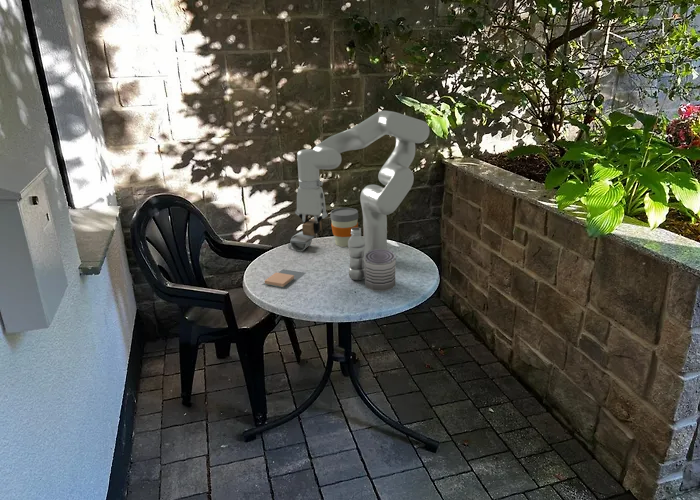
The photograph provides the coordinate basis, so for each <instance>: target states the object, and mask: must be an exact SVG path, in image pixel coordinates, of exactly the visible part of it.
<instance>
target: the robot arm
mask: <svg viewBox="0 0 700 500" xmlns="http://www.w3.org/2000/svg"><path fill="white" fill-rule="evenodd" d="M385 135H387V136H391V137H394V138H395V147H394V149H393V150H392V152H391V154H390V155H389V156H388V158H387V160H386V161H385V162H384V164H383V165H382V167H381V168H380V170H379V172H378V177H377V178H378V181H379V182H380V183H381V184H382V185H383V186H384V187H383V186H380V185H378V184H367V185H366V186H365V187H364V188H362V190H361V192H360V199H359V200H360V205H361V212H362V231H363V236H362V237H363V239H364V240H365V249H364V255H365V254H366V253H367V252H369V251H370V250H377V249H385V250H389V251H390V249H389V248H388V235H387V234H388V232H387V231H388V230H387V228H388V219H387V218H388V217H387V215H388V216H389V215H390V214H392V213H394V212H395V211H396V210H397V208H398V207H399V206H400V204H401V203H402V202H403V200H404V199H405V197H406V196H407V195H408V193H409V191H410V190H411V189H412V186H413V185H414V179H415V178H414V172H413V171H412V170H411V168H409V167H410V166H411V164H412V163H413V161H414V158H415V156H416V144H422V143H423V142H425V141H426V140H427V139H428V138H429V136H430V126H429V125H428V124H427V122H426V121H425V120H422V119H418V118H415V117H412V116H409V115H406V114H402V113H400V112H396V111H391V110H380V111H377V112H376V113H374V114H373V115H371V116H369V117H368V118H366V119H364V120H363V121H362V122H359V123H358V124H357V125H354V126H353V127H350V128H348V129H345V130H344V131H341V132H338V133H336V134H334V135H333V134H332V135H331V136H329V137H327V138H326V139H324V140H323V141H321V142H319V143H317V144H316V145H315V146H314V147H313V148H308V149H307V148H306V149H301V150H298V152H297V154H296V158H297V160H296V161H297V172H298V173H297V175H298V176H297V177H298V187H297V193H296V209H295V212H294V214H295V215H297V216H298V217H299V218H300V219H301V220H302V223H303V224H304V223H306V222H307V221H309V220H310V219H309V216H313V218H314V221H315V223H314V233H315V235H316V234H319V232H320V231H321V230H320V221H321V222H322V221H323V219H325V218H327V217H328V215H329V214H328V212H327V210H326V208H327V207H326V200H325V193H324V190H323V185H324V182H323V181H321V178H320V170H335V169H337V168H338V167H340V165H341V163H342V160H343V159H342V155H341V154H342V153H344V152H349V151H355V150H362V149H365V148H367V147H368V146H370V145H371V144H372V143H374V142H375V141H377V140H378V139H381V138H382V137H384V136H385ZM321 186H322V187H321ZM321 214H322V215H321ZM319 230H320V231H319ZM395 261H397V257H396V258H395ZM364 265H365V259H364Z"/></svg>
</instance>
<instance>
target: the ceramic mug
mask: <svg viewBox="0 0 700 500" xmlns="http://www.w3.org/2000/svg"><path fill="white" fill-rule="evenodd" d="M299 234H303V230H302V231H299V232H297V233H296V234H294V235H293V236H291V239H293V238H294V237H296V236H297V235H299ZM291 239H290V240H291ZM289 242H290V241H289ZM312 242H313V239H311V240H310V241H309V242H307V243H306V244H301V243H293V242H290V243H288V244H286V245H287V248H288V249H291V248H292V249H293V250H294V251H296V252H303V251H305V250H306V248H308V247H309V246H310V245H311V244H312Z"/></svg>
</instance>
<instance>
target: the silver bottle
mask: <svg viewBox="0 0 700 500" xmlns="http://www.w3.org/2000/svg"><path fill="white" fill-rule="evenodd" d="M351 235H352V236H351V237H350V238H349V240H348V247H347V248H348V253H349V266H348V267H349V268H348V276H349V278H350V279H351V280H353V281H362V280H365V264H364V249H365V240H364V239H363V236H362V229H361V227H358V228H352V229H351Z"/></svg>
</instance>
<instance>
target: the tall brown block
mask: <svg viewBox="0 0 700 500" xmlns="http://www.w3.org/2000/svg"><path fill="white" fill-rule="evenodd" d="M314 223H315V221H314V217H312V218H311V219H309V221H307V222H306V223H304V222H303V224H302V228H301V229H302V231H303V234H299V235H297V236H296V237H294V238H293V239H290V241H289V242H293V243H301V244H306V243H307V242H309V241H310V240H311V239H312V240H313V239H314V238H315V236H314V235H316V234H315V233H314ZM322 229H323V228H322V220H321V221H320V230H319V232H320V231H322Z"/></svg>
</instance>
